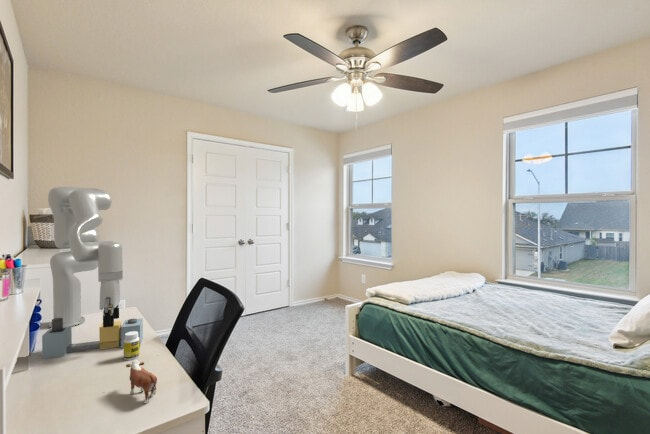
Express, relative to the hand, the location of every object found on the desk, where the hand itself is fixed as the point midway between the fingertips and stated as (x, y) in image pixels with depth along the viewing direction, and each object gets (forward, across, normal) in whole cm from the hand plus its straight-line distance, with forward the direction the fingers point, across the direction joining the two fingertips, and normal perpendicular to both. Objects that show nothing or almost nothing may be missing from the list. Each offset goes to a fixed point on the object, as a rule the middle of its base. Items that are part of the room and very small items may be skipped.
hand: (111, 322), depth 122 cm
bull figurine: (+10, +39, +14) cm, 43 cm away
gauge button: (+1, 0, -16) cm, 16 cm away
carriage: (+9, -1, 0) cm, 9 cm away
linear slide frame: (+9, -1, -5) cm, 10 cm away
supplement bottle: (+10, +12, +8) cm, 18 cm away
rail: (+9, -1, -5) cm, 10 cm away
